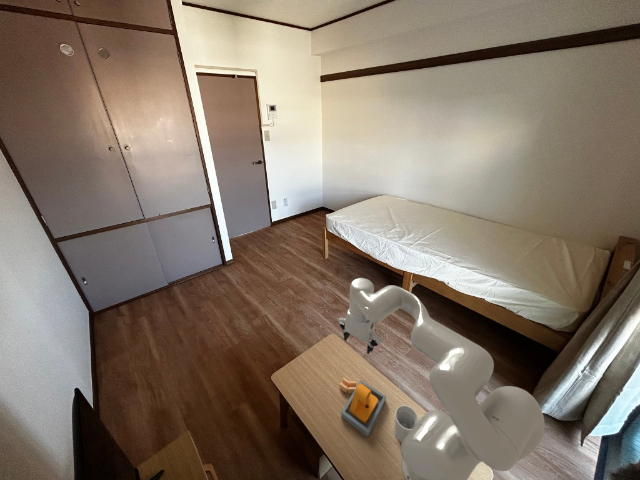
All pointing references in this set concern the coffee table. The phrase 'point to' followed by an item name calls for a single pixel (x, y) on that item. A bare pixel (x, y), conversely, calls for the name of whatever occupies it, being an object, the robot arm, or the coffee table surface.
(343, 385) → the clip
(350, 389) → the clip
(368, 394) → the bracket
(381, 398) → the gray tray
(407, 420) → the cup
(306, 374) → the coffee table surface
